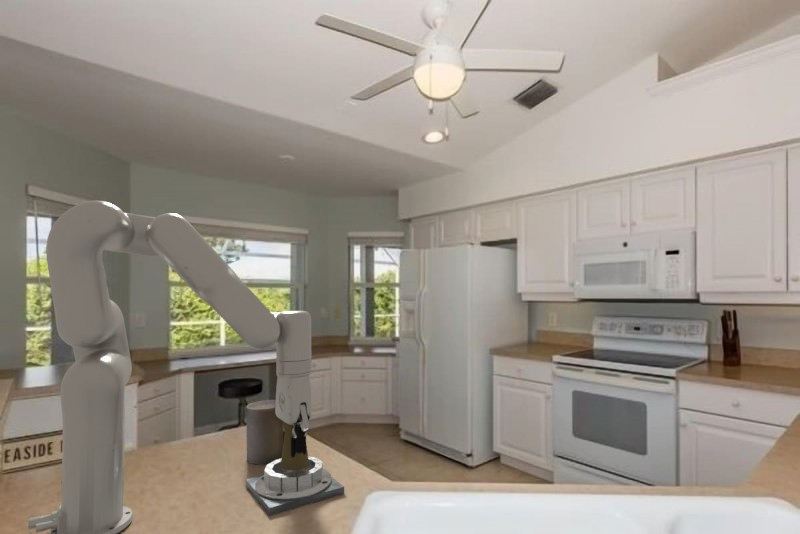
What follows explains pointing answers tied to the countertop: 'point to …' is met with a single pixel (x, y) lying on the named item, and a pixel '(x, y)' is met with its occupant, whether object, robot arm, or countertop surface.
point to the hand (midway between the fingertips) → (294, 451)
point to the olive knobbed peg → (287, 459)
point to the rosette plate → (293, 503)
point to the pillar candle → (263, 432)
